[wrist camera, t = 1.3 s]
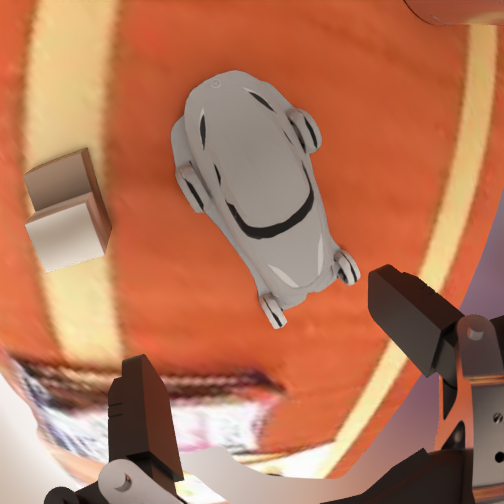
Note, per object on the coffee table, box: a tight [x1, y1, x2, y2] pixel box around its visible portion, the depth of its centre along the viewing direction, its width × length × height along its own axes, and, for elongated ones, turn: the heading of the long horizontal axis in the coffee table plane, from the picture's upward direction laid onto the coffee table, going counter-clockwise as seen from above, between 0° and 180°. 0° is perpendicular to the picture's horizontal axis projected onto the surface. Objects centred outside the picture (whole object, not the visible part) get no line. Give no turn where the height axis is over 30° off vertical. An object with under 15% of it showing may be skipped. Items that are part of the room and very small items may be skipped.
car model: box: [171, 70, 360, 329], centre depth 26 cm, size 11×24×5 cm, turn 25°
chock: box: [23, 148, 112, 273], centre depth 20 cm, size 7×5×5 cm
